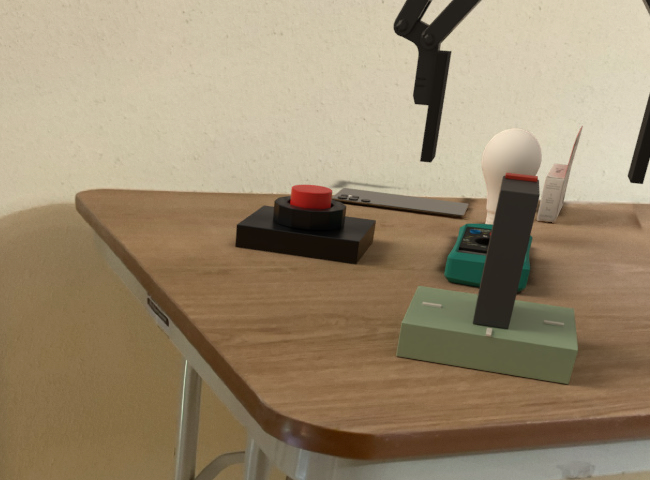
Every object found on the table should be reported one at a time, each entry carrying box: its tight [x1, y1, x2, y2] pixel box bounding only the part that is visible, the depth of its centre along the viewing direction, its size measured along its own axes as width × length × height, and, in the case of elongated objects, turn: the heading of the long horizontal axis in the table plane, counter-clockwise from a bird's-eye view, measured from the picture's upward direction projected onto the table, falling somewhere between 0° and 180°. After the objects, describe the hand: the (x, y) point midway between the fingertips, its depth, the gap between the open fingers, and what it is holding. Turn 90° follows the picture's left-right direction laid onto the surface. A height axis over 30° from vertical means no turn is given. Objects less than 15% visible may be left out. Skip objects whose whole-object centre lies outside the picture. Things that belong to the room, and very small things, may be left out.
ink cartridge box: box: [536, 125, 584, 224], centre depth 108 cm, size 2×11×10 cm, turn 159°
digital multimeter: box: [443, 223, 534, 293], centre depth 84 cm, size 7×15×3 cm, turn 163°
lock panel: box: [395, 285, 579, 385], centre depth 65 cm, size 12×10×3 cm
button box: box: [234, 195, 377, 265], centre depth 88 cm, size 12×10×4 cm
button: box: [290, 184, 333, 209], centre depth 86 cm, size 4×4×2 cm
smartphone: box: [332, 187, 469, 219], centre depth 109 cm, size 8×1×16 cm
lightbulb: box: [480, 127, 543, 224], centre depth 95 cm, size 6×6×11 cm
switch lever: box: [473, 173, 541, 329], centre depth 62 cm, size 6×2×9 cm, turn 164°
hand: (528, 170), depth 59 cm, fingers open, 13 cm apart
